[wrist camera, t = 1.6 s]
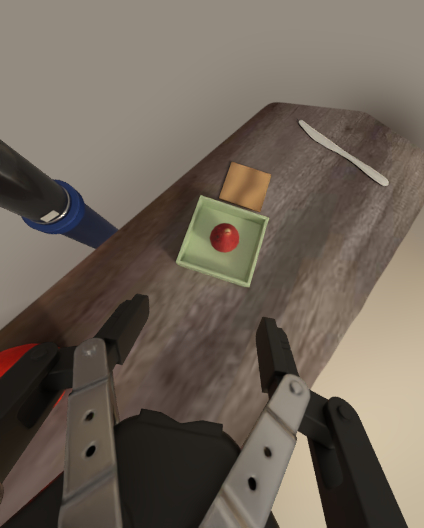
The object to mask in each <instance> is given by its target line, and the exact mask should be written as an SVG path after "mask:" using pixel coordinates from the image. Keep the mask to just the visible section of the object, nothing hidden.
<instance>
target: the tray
mask: <svg viewBox="0 0 424 528" xmlns="http://www.w3.org/2000/svg"><path fill="white" fill-rule="evenodd" d="M268 220H269V218H268V217H265V216H262V215H259V214H256V213H253V212H250V211H247V210H244V209H241V208H238V207H235V206H232V205H229V204H226V203H223V202H220V201H217V200H214V199H210V198H207V197H204V196H202V195H200V198H199V201H198V204H197V206H196V209H195V212H194V214H193V217H192V220H191V222H190V225H189V228H188V230H187V233H186V236H185V238H184V241H183V244H182V247H181V249H180V252H179V255H178V257H177V260H176V263H177V264H178V265H179V266H182V267H185V268H188V269H191V270H194V271H197V272H200V273H204V274H207V275H210V276H213V277H216V278H219V279H222V280H225V281H228V282H231V283H234V284H237V285H240V286H243V287H249V286H250V283H251V279H252V276H253V272H254V269H255V265H256V262H257V258H258V255H259V251H260V248H261V244H262V241H263V237H264V234H265V230H266V227H267V223H268ZM221 223H229V224H231V225H233V226H234V227H235V228H236V229H237V231H238V233H239V243H238V245H237V247H236V248H235V249H233V250H232V251H230V252H226V253H224V252H219V251H217V250H215V249H214V248H213V247H212V245H211V242H210V234H211V231H212V230H213V229H214V227H215V226H217V225H219V224H221Z"/></svg>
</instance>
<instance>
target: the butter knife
mask: <svg viewBox="0 0 424 528" xmlns="http://www.w3.org/2000/svg"><path fill="white" fill-rule="evenodd" d="M299 124H300V125H301V126H302V128H303V129H304V130H305V131H306V132H307V133H308V134H309V135H310V137H311V138H313V139H314V140H315V141H317V142H319V143H320V144H322V145H323V146H325V147H327V148H329V149H331V150H333V151H335V152H337V153H339V154H340V155H342V156H344V157H345V158H347V159H349V160H350V161H351V162H353V163H354V164H355V165H357V166H358V167H359V168H360V169H361V170H363V171H364V172H365V173H366V174H367V175H369V176H370V177H371V178H372V179H374V180H375V181H376V182H378V183H379V184H381V185H384V186H387V185H388V184H389V182H388V180H387V179H386V178H385V177H384V176H382V175H381V174H380V173H378V172H377V171H375V170H374V169H372V168H371V167H369V166H367V165H366V164H364V163H362V162H361V161H359V160H357V159H356V158H354V157H353V156H351V155H350V154H348V153H347V152H345V151H344V150H342V149H341V148H340V147H338V146H337V145H335V144H334V143H333V142H331V141H330V140H329V139H327V138H326V137H324V136H323V135H322V134H320V133H319V132H317V131H316V130H315V129H313V128H312V127H310V126H309V125H308V124H306V123H305V122H304V121H302V120H300V121H299Z"/></svg>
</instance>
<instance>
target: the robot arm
mask: <svg viewBox="0 0 424 528" xmlns="http://www.w3.org/2000/svg"><path fill="white" fill-rule="evenodd" d="M71 206H72V199H71V196H70V194H69V192H68V191H67V190H66V189H65V188H64V187H62V186H61V185H59V184H58V183H56V182H55V181H54V180H52V179H51V178H50V177H49V176H47V175H46V174H44V173H43V172H42V171H41V170H39V169H38V168H37V167H36V166H34V165H33V164H31V163H30V162H29V161H28V160H26V159H25V158H24V157H22V156H21V155H20V154H18V153H17V152H16V151H15V150H13V149H12V148H11V147H9V146H8V145H7V144H5V143H4V142H3V141H1V140H0V207H2V208H4V209H7V210H9V211H11V212H14V213H16V214H18V215H20V216H22V217H25V218H27V219H29V220H31V221H33V222H35V223H37V224H41V225H51V224H55V223H57V222H59V221H61V220H63V219H64V218H65V217H66V216H67V215H68V213H69V212H70V209H71ZM148 316H149V298H148V296H147V295H141V294H136V295H135V296H134V297H133V299H132V300H126V301H125V302H123V303H122V304H120V305H119V306H118V308H117V309H116V310H115V312H114V313H113V314H112V315H111V317H110V318H109V319H108V320H107V322H106V323H105V324H104V325H103V327H102V328H101V329H100V330H99V332H98V333H97V334H96V335H95V336H94V337H93V338H91V339H88V340H85V341H84V342H82V343H81V344H80V345H79V346H73V347H65V348H58V346H57V345H56V344H55V343H53V342H45V343H41V344H38V345H36V346H34V347H32V348H31V349H29V350H28V351H27V352H26V353H25V354H24V355H23V356H22V357H21V358H20V359H19V360H18V361H17V362H16V363H15V364H14V365H13V366H12V367H11V368H10V369H8V370H7V371H6V372H5V373H4V374H3V375H2V376H1V377H0V504H1V502H2V498H3V494H4V487H3V484H2V483H3V481H4V480H5V478H6V477H7V475H8V474H9V472H10V471H11V469H12V468H13V466H14V465H15V463H16V462H17V460H18V459H19V457H20V456H21V455H22V453H23V452H24V450H25V449H26V447H27V446H28V444H29V443H30V441H31V440H32V438H33V437H34V435H35V434H36V432H37V431H38V429H39V428H40V427H41V425H42V424H43V422H44V421H45V419H46V418H47V416H48V415H49V413H50V412H51V410H52V409H53V407H54V406H55V404H56V403H57V401H58V400H59V399H60V397H61V396H62V394H63V393H64V391H65V390H66V389H67V388H73V389H72V393H70V394H69V397H68V410H67V428H66V447H65V465H64V471H63V472H62V473H61V474H59V475H58V476H57V477H56V478H55V479H54V480H53V481H51V482H50V483H49V484H48V485H47V486H46V487H45V488H44V489H42V490H41V491H40V492H39V493H38V494H37V495H36V496H35V497H33V498H32V499H31V500H30V501H29V502H28V503H27V504H26V505H24V506H23V507H22V508H21V509H20V510H19V511H18V512H17V513H15V514H14V515H13V516H12V517H11V518H10V519H9V520H8V521H6V522H5V523H4V524H3V525H2V526H1V527H0V528H279V525H278V523H277V521H276V519H275V517H274V515H273V513H272V511H271V509H272V506H273V503H274V501H275V498H276V495H277V492H278V490H279V487H280V484H281V482H282V479H283V476H284V474H285V471H286V469H287V466H288V463H289V460H290V458H291V455H292V453H293V450H294V447H295V445H296V441H297V437H296V433H297V431H299V432H301V433H302V434H304V435H305V436H307V439H308V444H309V448H310V453H311V457H312V462H313V467H314V471H315V475H316V480H317V485H318V489H319V494H320V498H321V503H322V507H323V512H324V516H325V521H326V525H327V528H408V526H407V524H406V522H405V519H404V517H403V515H402V513H401V511H400V508H399V506H398V504H397V502H396V499H395V497H394V495H393V493H392V490H391V488H390V486H389V483H388V481H387V479H386V477H385V474H384V472H383V470H382V467H381V465H380V463H379V461H378V458H377V456H376V454H375V452H374V449H373V448H372V445H371V443H370V441H369V438H368V436H367V434H366V431H365V429H364V427H363V425H362V422H361V420H360V418H359V416H358V414H357V412H356V411H355V410H354V408H353V407H352V406H351V405H350V404H349V403H348V402H346V401H345V400H343V399H341V398H339V397H331V398H330V399H329V400H328V399H326V398H324V397H322V396H320V395H318V394H316V393H315V392H313V391H311V390H310V389H309V388H308V386H307V385H306V383H305V382H304V381H303V380H302V379H301V378H300V377H299V375H298V371H297V368H296V365H295V361H294V358H293V355H292V351H291V348H290V345H289V342H288V338H287V335H286V334H285V332H284V331H283V330H282V328H278V327H277V325H276V321H275V319H272V318H267V317H262V319H261V322H260V324H259V327H258V329H257V332H256V346H257V355H258V363H259V371H260V379H261V388H262V392H264V393H268V396H269V401H268V402H267V404H266V406H265V407H264V409H263V411H262V413H261V414H260V416H259V418H258V419H257V421H256V423H255V425H254V426H253V428H252V430H251V431H250V433H249V435H248V436H247V438H246V440H245V441H244V443H243V445H242V446H241V448H240V447H239V446H238V445H237V443H236V442H235V441H234V440H233V439H232V438H231V437H230V436H229V435H228V434H227V433H225V432H224V431H222V428H223V424H219V423H213V422H208V421H203V420H202V421H195V422H187V423H179V422H177V421H175V420H174V419H172V418H170V417H168V416H167V415H165V414H163V413H162V412H157V411H152V410H147V409H141V411H140V414H139V415H135V416H132V417H129V418H127V419H124V420H123V421H121V422H120V418H119V412H118V407H117V401H116V394H115V386H114V378H113V371H112V370H113V368H114V367H115V365H116V364H120V365H123V363H124V361H125V359H126V357H127V356H128V354H129V352H130V350H131V348H132V347H133V345H134V343H135V341H136V339H137V337H138V336H139V334H140V332H141V330H142V328H143V327H144V325H145V323H146V321H147V319H148Z"/></svg>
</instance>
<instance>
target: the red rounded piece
mask: <svg viewBox="0 0 424 528" xmlns="http://www.w3.org/2000/svg"><path fill="white" fill-rule="evenodd" d="M210 242H211V245H212V247H213V248H214V249H215V250H217V251H219V252H224V253H226V252H230V251H232V250H233V249H235V248H236V247H237V245H238V243H239V233H238V231H237V229H236V228H235V227H234V226H233V225H231V224H229V223H221V224H219V225H217V226H215V227H214V229H213V230H212V231H211V234H210Z"/></svg>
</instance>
